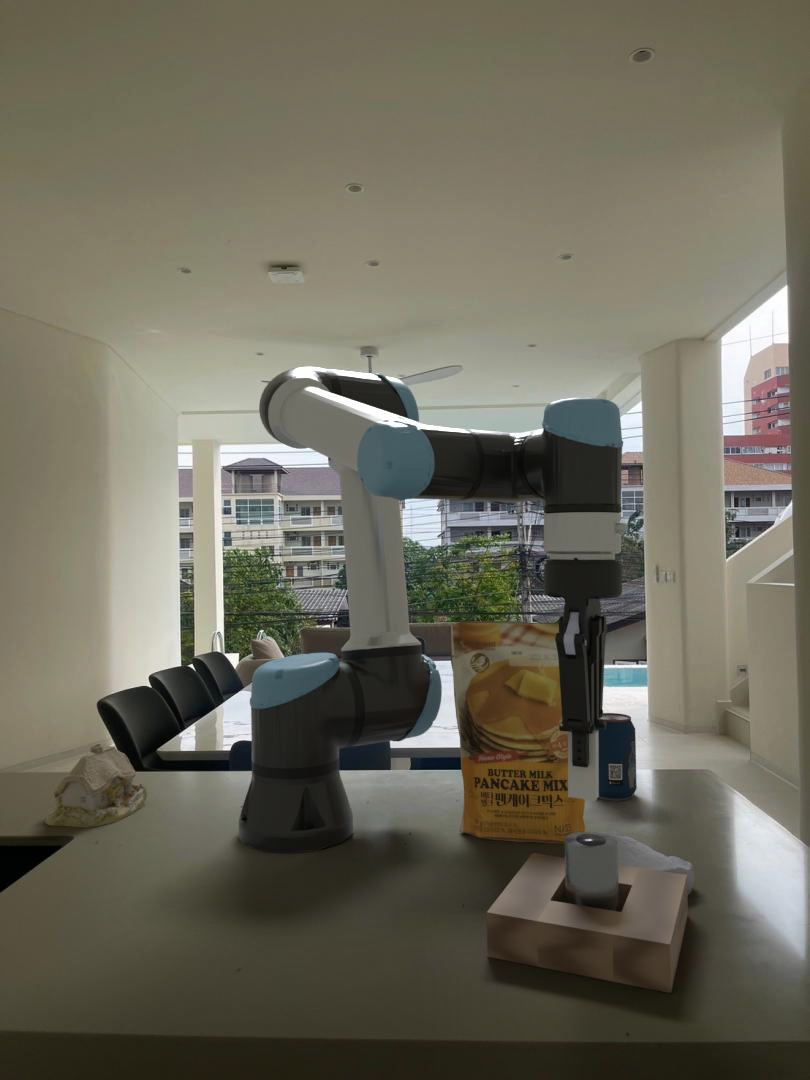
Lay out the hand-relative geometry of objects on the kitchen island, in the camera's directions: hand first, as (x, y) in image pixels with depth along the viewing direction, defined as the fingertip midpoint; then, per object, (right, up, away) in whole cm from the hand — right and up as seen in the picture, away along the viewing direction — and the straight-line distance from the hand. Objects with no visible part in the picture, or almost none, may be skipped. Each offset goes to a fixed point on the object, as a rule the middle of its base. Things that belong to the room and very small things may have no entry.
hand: (583, 796), depth 79 cm
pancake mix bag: (-2, -14, +27) cm, 30 cm away
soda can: (+14, -14, +43) cm, 48 cm away
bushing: (0, -13, -2) cm, 13 cm away
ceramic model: (-63, -15, +38) cm, 75 cm away
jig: (0, -13, -2) cm, 13 cm away
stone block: (+9, -14, +11) cm, 19 cm away
